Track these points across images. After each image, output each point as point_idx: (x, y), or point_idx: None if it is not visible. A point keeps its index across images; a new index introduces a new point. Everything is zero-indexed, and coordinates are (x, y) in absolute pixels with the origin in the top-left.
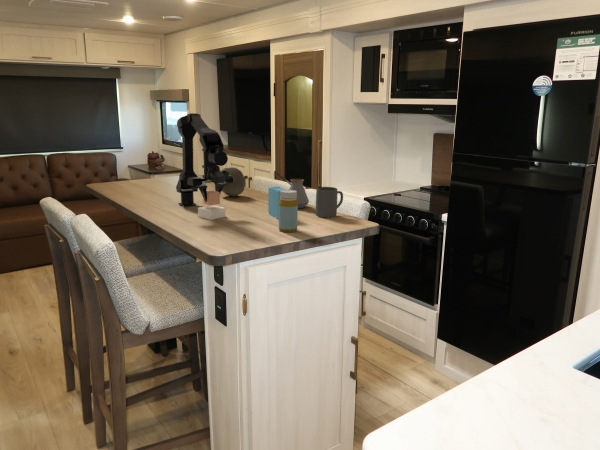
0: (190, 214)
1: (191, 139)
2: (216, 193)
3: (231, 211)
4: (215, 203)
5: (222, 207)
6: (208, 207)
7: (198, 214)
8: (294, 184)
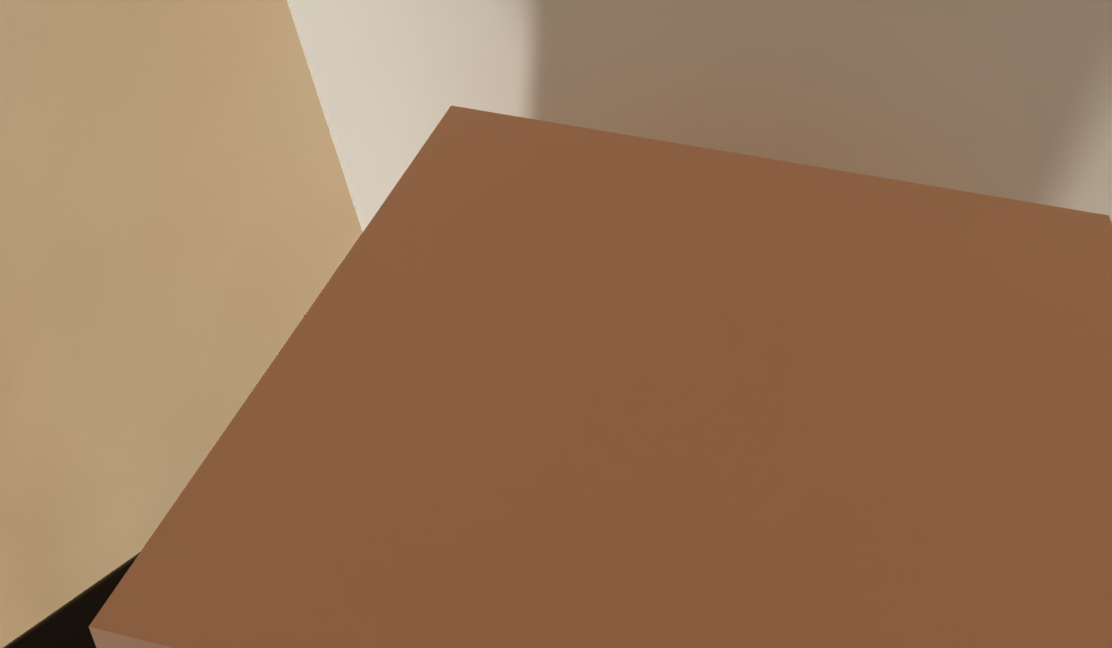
0: None
1: None
2: (469, 632)
3: (32, 249)
4: (701, 180)
5: (341, 95)
6: None
7: None
8: None
